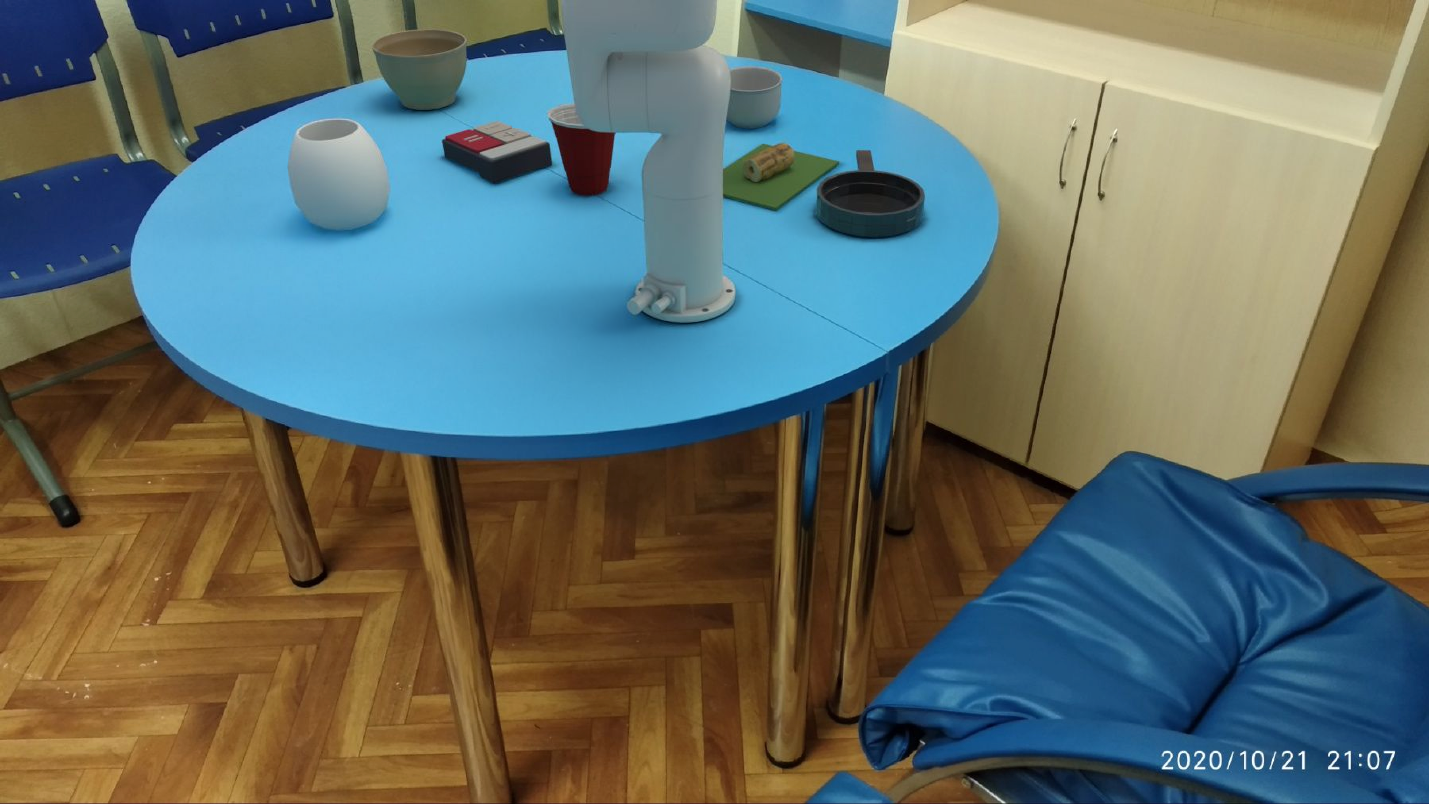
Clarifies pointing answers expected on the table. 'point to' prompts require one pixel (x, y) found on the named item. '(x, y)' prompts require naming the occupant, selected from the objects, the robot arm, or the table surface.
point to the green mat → (774, 180)
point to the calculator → (497, 151)
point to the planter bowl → (422, 66)
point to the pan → (869, 203)
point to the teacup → (753, 96)
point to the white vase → (337, 174)
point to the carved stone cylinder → (769, 162)
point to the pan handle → (864, 160)
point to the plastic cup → (582, 151)
